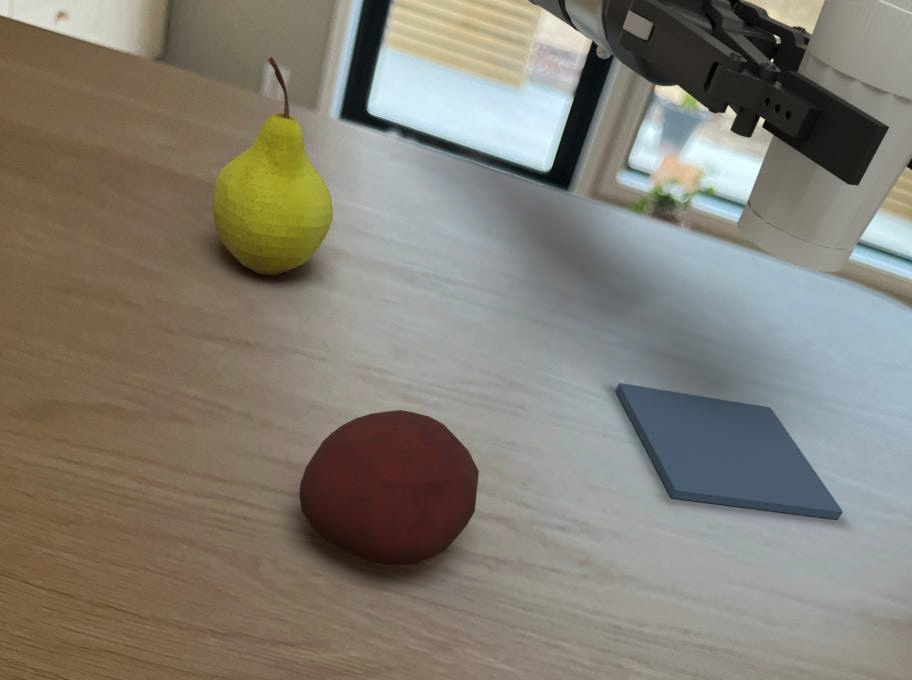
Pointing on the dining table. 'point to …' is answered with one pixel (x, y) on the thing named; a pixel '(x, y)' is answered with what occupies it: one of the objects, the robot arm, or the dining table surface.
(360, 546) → the potato
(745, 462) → the mat
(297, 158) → the fruit
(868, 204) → the cup
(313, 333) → the dining table surface
